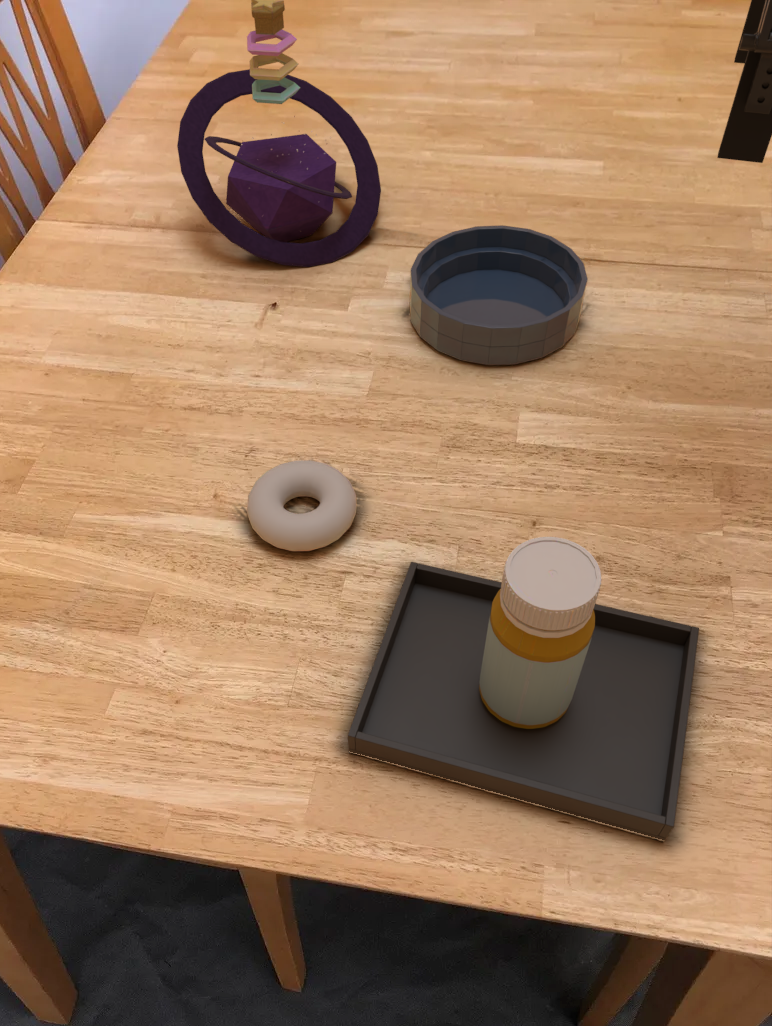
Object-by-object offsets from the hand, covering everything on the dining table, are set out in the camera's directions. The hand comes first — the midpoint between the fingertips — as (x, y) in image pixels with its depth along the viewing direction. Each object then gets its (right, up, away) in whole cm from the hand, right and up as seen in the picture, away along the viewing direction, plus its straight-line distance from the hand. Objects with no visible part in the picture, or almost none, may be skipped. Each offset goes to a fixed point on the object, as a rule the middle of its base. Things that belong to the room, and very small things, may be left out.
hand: (747, 107), depth 62 cm
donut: (-30, -26, +23) cm, 46 cm away
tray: (-13, -41, +10) cm, 44 cm away
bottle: (-13, -40, +9) cm, 44 cm away
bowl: (-10, -2, +39) cm, 40 cm away
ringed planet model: (-33, +12, +51) cm, 62 cm away
